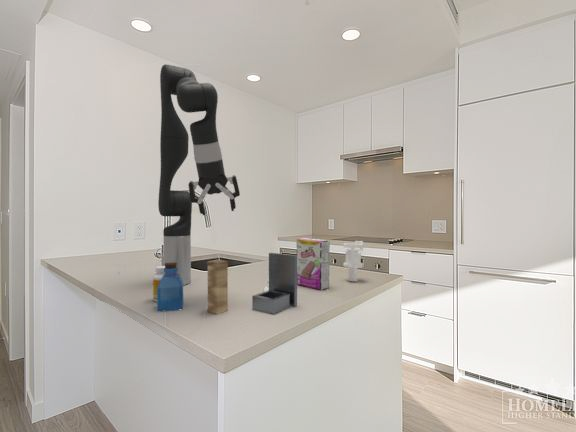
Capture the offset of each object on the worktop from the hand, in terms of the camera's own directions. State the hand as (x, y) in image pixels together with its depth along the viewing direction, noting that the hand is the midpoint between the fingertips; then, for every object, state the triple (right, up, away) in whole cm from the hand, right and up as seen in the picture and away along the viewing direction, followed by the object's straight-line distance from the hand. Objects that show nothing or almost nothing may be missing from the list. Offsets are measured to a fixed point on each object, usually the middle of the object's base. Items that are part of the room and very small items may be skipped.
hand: (218, 212), depth 96 cm
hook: (+17, -26, +8) cm, 32 cm away
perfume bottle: (-11, -26, -9) cm, 30 cm away
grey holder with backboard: (+17, -26, -9) cm, 32 cm away
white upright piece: (+45, -25, +22) cm, 56 cm away
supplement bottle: (-16, -26, -2) cm, 30 cm away
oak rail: (+3, -26, -13) cm, 29 cm away
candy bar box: (+30, -26, +14) cm, 41 cm away
